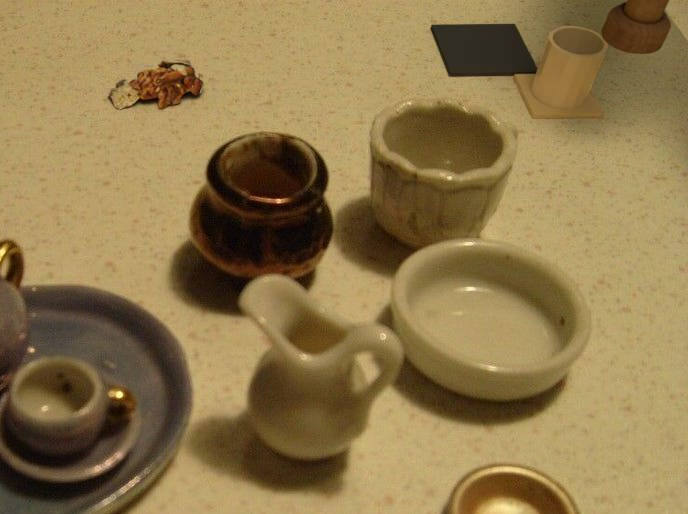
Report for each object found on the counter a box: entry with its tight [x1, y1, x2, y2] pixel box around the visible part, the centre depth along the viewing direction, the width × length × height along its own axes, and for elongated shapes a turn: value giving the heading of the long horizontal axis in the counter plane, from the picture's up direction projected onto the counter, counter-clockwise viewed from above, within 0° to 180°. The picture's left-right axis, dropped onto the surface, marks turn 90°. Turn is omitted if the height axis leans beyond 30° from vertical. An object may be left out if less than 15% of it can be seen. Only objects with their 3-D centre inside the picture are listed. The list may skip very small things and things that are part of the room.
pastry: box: [107, 58, 205, 110], centre depth 109 cm, size 7×12×4 cm, turn 116°
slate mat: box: [430, 23, 538, 77], centre depth 118 cm, size 12×12×1 cm
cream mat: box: [513, 74, 604, 119], centre depth 111 cm, size 9×9×1 cm
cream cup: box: [531, 25, 609, 109], centre depth 108 cm, size 7×7×8 cm
